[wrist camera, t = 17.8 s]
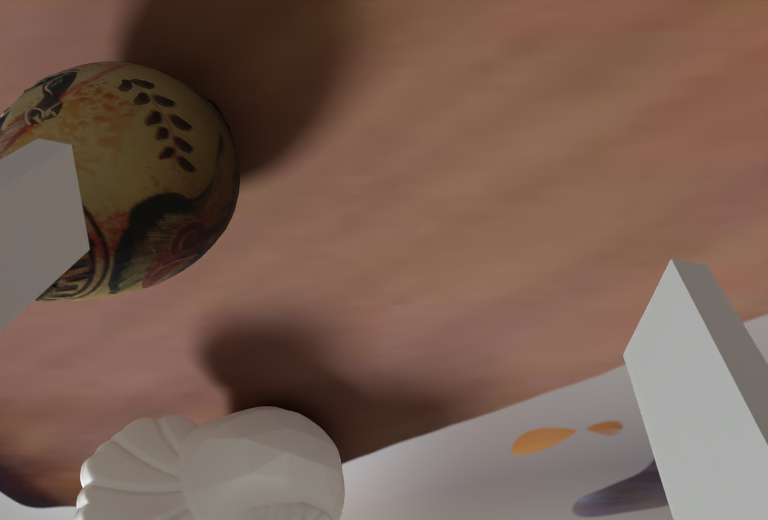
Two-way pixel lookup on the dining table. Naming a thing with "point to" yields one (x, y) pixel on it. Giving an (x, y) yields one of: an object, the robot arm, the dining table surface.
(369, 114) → the dining table surface
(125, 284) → the ceramic jug
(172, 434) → the decorative rooster
